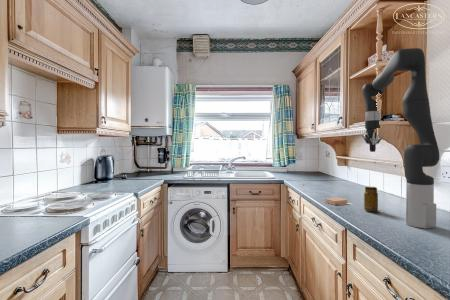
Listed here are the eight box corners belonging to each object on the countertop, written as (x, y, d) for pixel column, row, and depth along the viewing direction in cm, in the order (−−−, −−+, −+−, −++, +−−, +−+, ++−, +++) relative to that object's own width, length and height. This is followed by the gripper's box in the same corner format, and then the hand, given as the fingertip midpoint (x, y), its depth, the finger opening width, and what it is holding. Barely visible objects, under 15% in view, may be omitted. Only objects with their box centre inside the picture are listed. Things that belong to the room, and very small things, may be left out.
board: (352, 204, 152) (352, 203, 152) (339, 205, 149) (339, 205, 149) (340, 201, 160) (340, 200, 160) (328, 202, 157) (328, 201, 157)
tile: (347, 199, 152) (334, 201, 149) (347, 203, 152) (334, 205, 149) (338, 197, 158) (325, 198, 155) (338, 201, 158) (325, 202, 155)
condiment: (367, 208, 142) (367, 185, 142) (384, 211, 135) (384, 187, 135) (360, 211, 137) (360, 187, 137) (378, 214, 131) (378, 189, 130)
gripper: (369, 119, 145) (369, 152, 145) (387, 119, 149) (387, 151, 150) (357, 120, 152) (357, 151, 152) (376, 120, 156) (376, 151, 157)
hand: (372, 151), depth 151 cm, fingers closed
